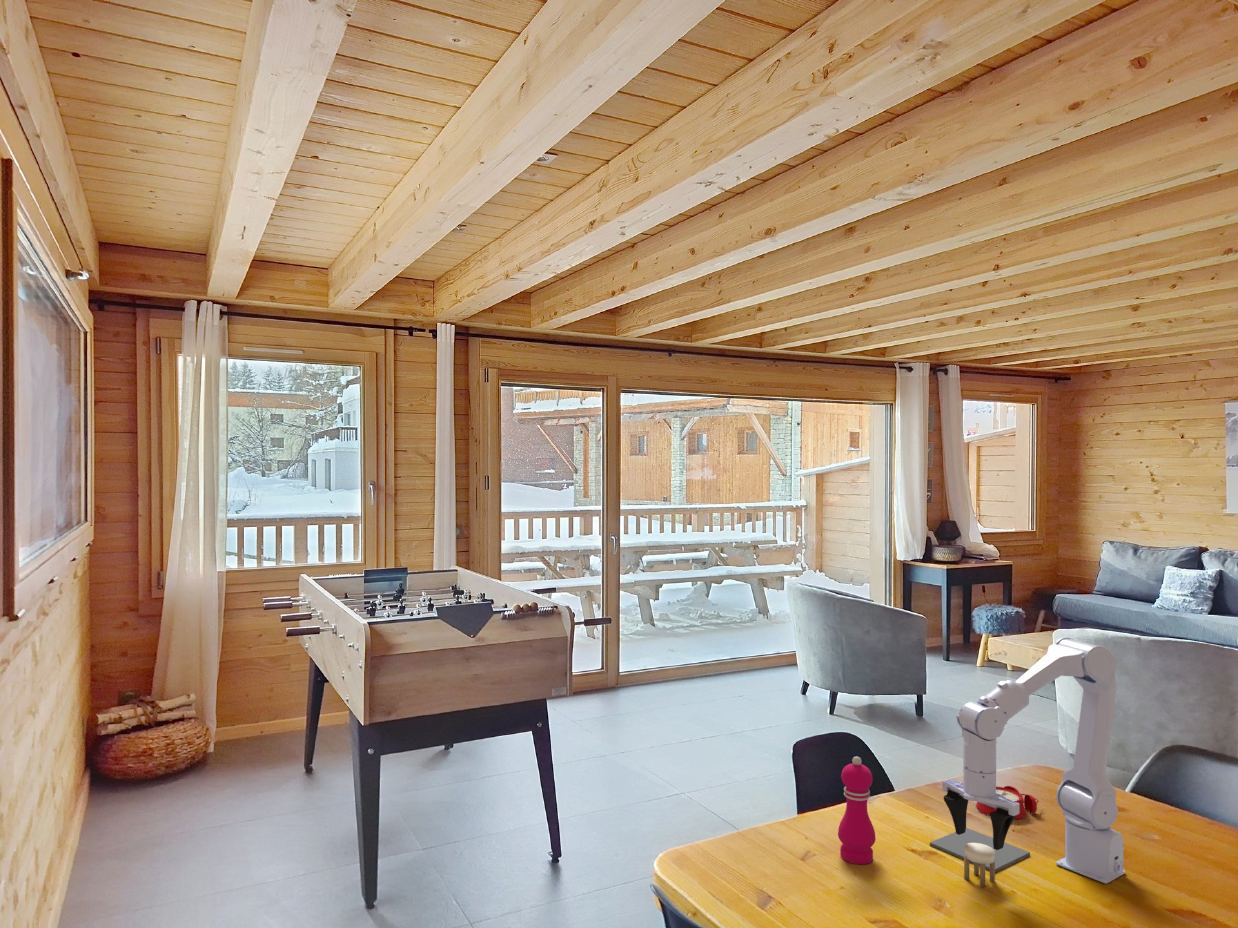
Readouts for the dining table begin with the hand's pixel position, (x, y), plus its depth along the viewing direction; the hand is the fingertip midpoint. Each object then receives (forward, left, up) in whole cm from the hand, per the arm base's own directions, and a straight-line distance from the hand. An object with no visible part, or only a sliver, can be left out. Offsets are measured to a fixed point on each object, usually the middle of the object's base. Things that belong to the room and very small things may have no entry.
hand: (979, 840), depth 154 cm
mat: (+7, -12, -7) cm, 15 cm away
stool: (0, 0, -7) cm, 7 cm away
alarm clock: (+15, -36, -8) cm, 40 cm away
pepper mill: (+19, +12, -8) cm, 24 cm away
